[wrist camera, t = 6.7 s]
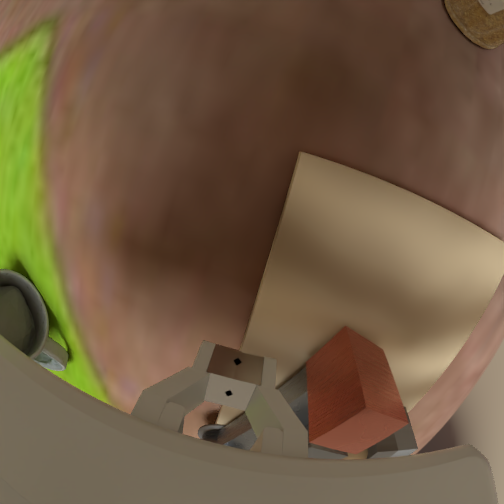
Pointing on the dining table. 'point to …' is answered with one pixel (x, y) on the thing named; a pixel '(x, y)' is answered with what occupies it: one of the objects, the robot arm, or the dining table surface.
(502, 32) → the sprinkles bottle
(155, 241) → the dining table surface
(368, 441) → the lever
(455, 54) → the dining table surface
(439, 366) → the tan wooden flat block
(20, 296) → the ceramic mug
